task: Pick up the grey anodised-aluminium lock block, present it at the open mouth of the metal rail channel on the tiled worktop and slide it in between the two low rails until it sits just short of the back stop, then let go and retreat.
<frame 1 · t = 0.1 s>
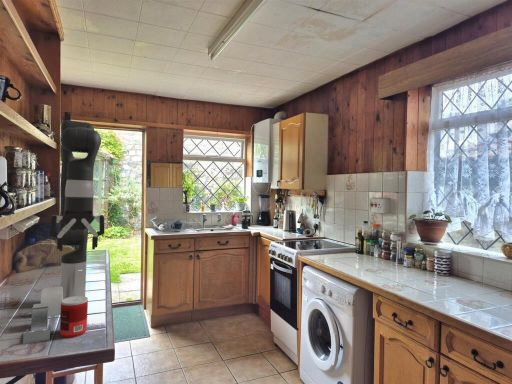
hand: (77, 249, 100), 29 cm above the table, fingers open, 8 cm apart
lock block: (39, 326, 115), on the table
rail channel: (37, 336, 107), on the table
tea bag: (51, 315, 126), on the table
canned food: (73, 333, 110), on the table
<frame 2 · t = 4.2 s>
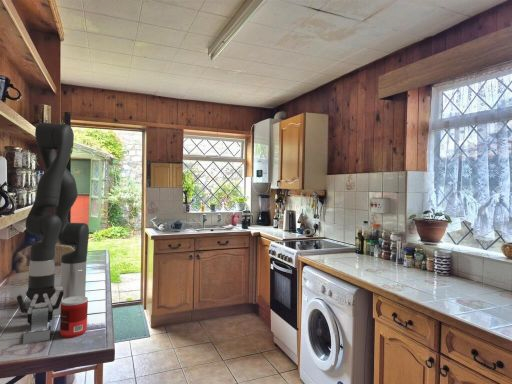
hand: (40, 322, 115), 1 cm above the table, fingers closed on lock block, 4 cm apart
lock block: (39, 326, 115), on the table, touching gripper
everything else where it was.
when the fingers open (2 cm above the table, at t = 10.2 s): lock block stays where it is, resting in rail channel.
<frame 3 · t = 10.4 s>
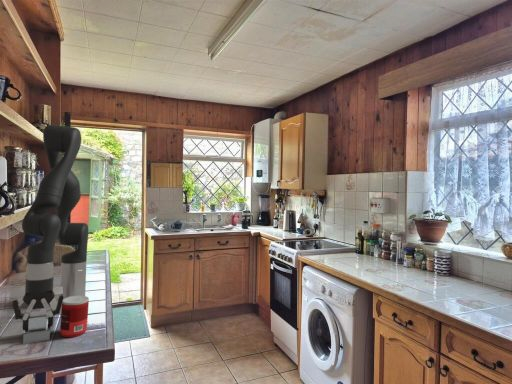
hand: (37, 329, 107), 2 cm above the table, fingers open, 5 cm apart
lock block: (37, 336, 107), resting in rail channel
canned food: (73, 333, 110), on the table, touching hand
everything else where it was.
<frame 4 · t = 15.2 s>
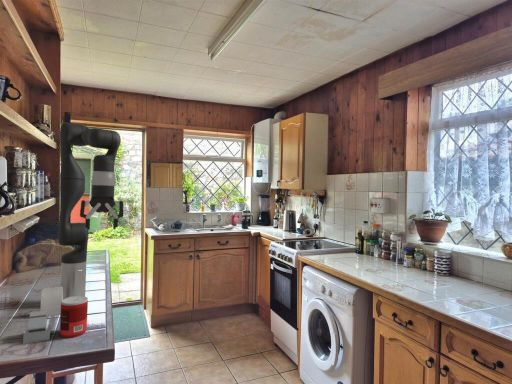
hand: (101, 229, 122), 33 cm above the table, fingers open, 8 cm apart
canned food: (73, 333, 110), on the table
everything else where it was.
at the end: lock block 0.7 cm off-centre on the rail channel, point 0.0 cm above the rail channel's base; lock block tilted 0°; the gripper is holding nothing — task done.
